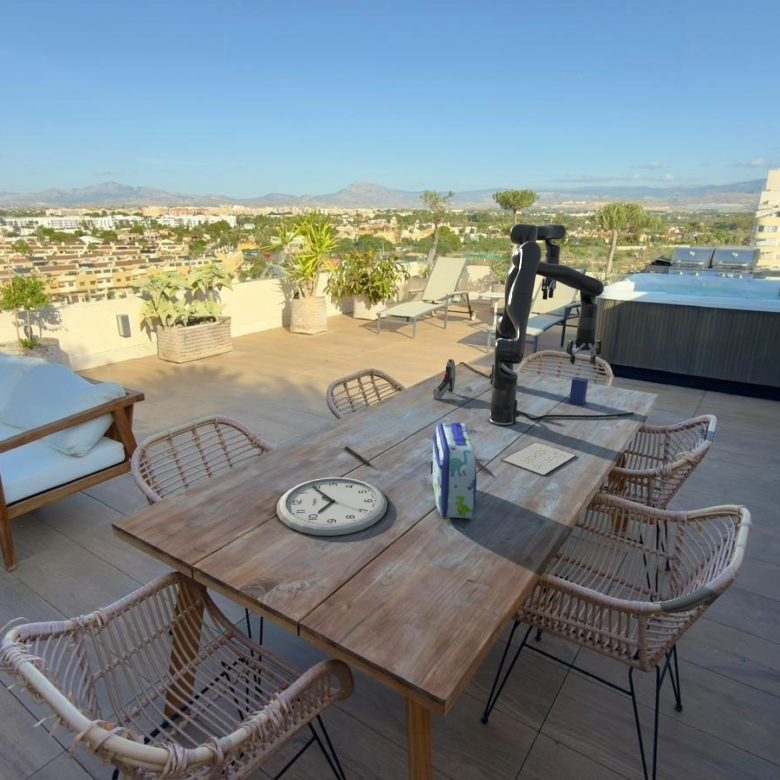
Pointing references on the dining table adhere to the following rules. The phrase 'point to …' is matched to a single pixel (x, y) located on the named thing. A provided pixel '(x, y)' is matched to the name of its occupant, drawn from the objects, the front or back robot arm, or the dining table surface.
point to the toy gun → (446, 381)
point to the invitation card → (539, 458)
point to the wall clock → (331, 506)
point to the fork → (481, 466)
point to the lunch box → (454, 471)
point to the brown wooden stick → (357, 455)
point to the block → (578, 391)
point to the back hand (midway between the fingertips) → (547, 298)
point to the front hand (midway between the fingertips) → (582, 363)
